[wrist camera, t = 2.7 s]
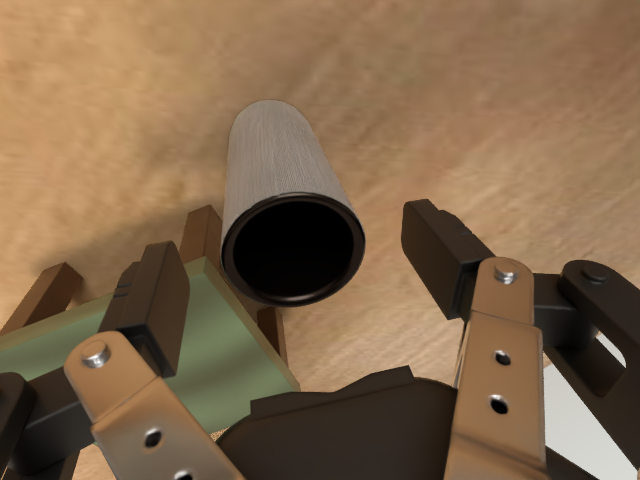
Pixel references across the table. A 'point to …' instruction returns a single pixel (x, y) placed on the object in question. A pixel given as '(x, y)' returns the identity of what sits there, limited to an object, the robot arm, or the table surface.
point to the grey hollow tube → (285, 212)
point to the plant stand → (197, 343)
